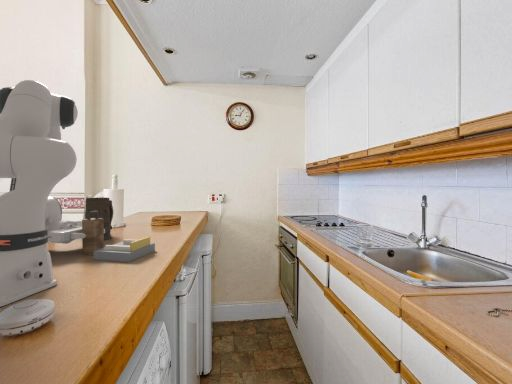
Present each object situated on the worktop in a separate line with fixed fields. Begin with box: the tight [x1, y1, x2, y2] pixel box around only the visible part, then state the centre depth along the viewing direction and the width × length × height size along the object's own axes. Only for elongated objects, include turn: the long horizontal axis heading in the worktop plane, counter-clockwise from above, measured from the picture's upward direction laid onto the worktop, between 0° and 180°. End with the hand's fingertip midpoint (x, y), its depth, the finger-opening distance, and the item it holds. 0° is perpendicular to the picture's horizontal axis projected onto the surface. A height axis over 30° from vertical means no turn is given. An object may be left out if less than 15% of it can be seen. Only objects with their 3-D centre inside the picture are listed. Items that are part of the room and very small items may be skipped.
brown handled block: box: [81, 211, 105, 256], centre depth 108 cm, size 5×5×16 cm
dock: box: [93, 236, 156, 263], centre depth 106 cm, size 14×16×6 cm
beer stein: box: [84, 197, 114, 241], centre depth 136 cm, size 15×11×20 cm
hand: (94, 233), depth 108 cm, fingers open, 8 cm apart
